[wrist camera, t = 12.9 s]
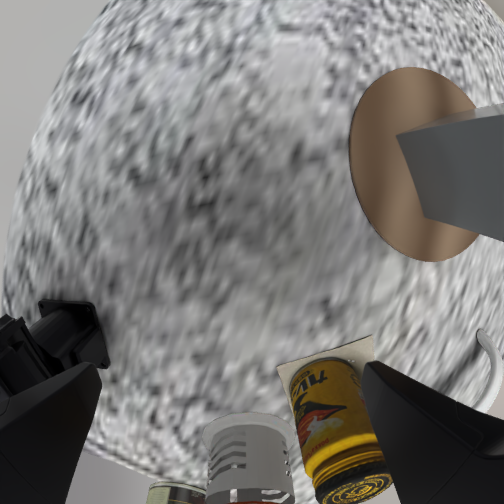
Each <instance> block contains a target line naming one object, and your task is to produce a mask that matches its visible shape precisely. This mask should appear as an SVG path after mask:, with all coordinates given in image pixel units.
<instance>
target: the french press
mask: <svg viewBox="0 0 504 504" xmlns="http://www.w3.org/2000/svg"><path fill="white" fill-rule="evenodd" d="M202 440H203V442H204V444H205V447H206V448H207V449H208V450H209V451H210V455H209V456H210V459H209V465H208V466H209V469H208V475H207V476H208V480H207V490H206V498H205V501H206V503H207V504H294V503H295V496H294V489H293V482H292V476H291V475H290V476H289V474H290V472H291V469H290V462H289V456H287V453H288V450H289V449H290V447H291V446H292V444H293V443H294V441H295V432H294V429H293V428H292V427H291V426H290V425H289V424H288V423H287V421H285V420H282V419H280V418H278V417H275V416H273V415H270V414H262V413H255V412H246V413H235V414H229V415H226V416H224V417H221V418H218V419H215V420H213V421H212V422H211V423H210V424H209V425H208V426H206V427H205V428H204V431H203V435H202ZM285 460H286V461H287V463H286V464H285ZM210 461H212V462H211V463H210ZM231 463H232V464H237V468H231ZM288 463H289V466H288ZM213 465H214V466H213ZM210 470H212V472H211V473H209V471H210ZM286 470H287V471H288V473H287V474H286ZM209 479H210V480H212V482H211V483H210V484H209V483H208V482H209ZM230 489H237V498H236V500H235V502H230ZM261 490H279V491H282V492H281V493H278V494H272V495H267V494H262V493H261ZM287 493H289V494H290V496H289V497H288V498H287V499H286V500H285V501H283V502H282V503H275V502H262V499H266V500H273V499H280V498H282V497H283V496H284V495H286V494H287Z"/></svg>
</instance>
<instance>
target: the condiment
mask: <svg viewBox="0 0 504 504" xmlns="http://www.w3.org/2000/svg"><path fill="white" fill-rule="evenodd" d="M348 360H351V361H352V360H354V361H355V362H351V361H350V362H349V361H348ZM370 361H374V348H373V336H372V335H371V336H369V337H367V338H364V339H362V340H358V341H355V342H354V343H351V344H348V345H345V346H342V347H340V348H336V349H333V350H329V351H326V352H322V353H319V354H316V355H313V356H310V357H306V358H303V359H299V360H296V361H294V362H289V363H286V364H283V365H280V366H278V367H276V368H277V370H278V373H279V376H280V379H281V382H282V385H283V387H284V390H285V393H286V396H287V399H288V402H289V405H290V408H291V411H292V413H293V416H294V419H295V425H296V429H297V434H298V438H299V444H300V448H301V453H302V459H303V464H304V468H305V472H306V474H307V475H308V476H309V477H310V478H312V479H313V480H312V484H313V487H314V488H315V497H316V500H317V501H318V503H319V504H358V503H362V502H364V501H367V500H369V499H371V498H373V497H375V496H377V495H378V494H380V493H382V492H383V491H384V490H386V489H387V488H389V487H390V485H391V484H392V483H393V480H392V477H391V475H390V472H389V469H388V467H387V464H386V461H385V459H384V456H383V454H382V451H381V448H380V446H379V443H378V441H377V438H376V436H375V433H374V431H373V428H372V425H371V422H370V419H369V415H368V412H367V408H366V404H365V400H364V397H363V393H362V389H361V378H362V374H363V370H364V366H365V364H366V363H367V362H370Z"/></svg>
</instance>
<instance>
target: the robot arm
mask: <svg viewBox="0 0 504 504" xmlns="http://www.w3.org/2000/svg"><path fill="white" fill-rule="evenodd" d="M38 306H39V310H40V313H41V316H42V318H41V319H40V320H39V321H38V322H36V323H35V324H34V325H33V326H32V327H30V328H29V329H28V328H27V326H26V325H25V323H26V322H25V321H24V319H23V317H22V316H21V317H20V318H18V319H16V320H15V318H11V317H10V316H9V315H7V314H6V315H4V316H3V317H1V318H0V504H65V502H66V498H67V495H68V491H69V488H70V485H71V482H72V478H73V475H74V472H75V469H76V466H77V463H78V460H79V457H80V454H81V452H82V449H83V446H84V443H85V440H86V438H87V435H88V432H89V430H90V427H91V424H92V421H93V418H94V414H95V411H96V407H97V403H98V400H99V396H100V393H101V389H102V381H101V379H100V376H99V373H98V370H97V368H100V369H108V367H109V366H110V362H109V359H108V356H107V351H106V347H105V344H104V341H103V337H102V333H101V330H100V328H99V325H98V321H97V317H96V313H95V308H94V306H93V305H92V304H91V303H88V302H72V301H58V300H45V299H42V300H40V301H39V302H38ZM87 307H88V308H89V309H90V311H89V310H88V308H87ZM104 363H105V364H104ZM361 389H362V393H363V397H364V400H365V404H366V408H367V412H368V415H369V419H370V422H371V425H372V428H373V431H374V433H375V436H376V438H377V441H378V443H379V446H380V448H381V451H382V454H383V456H384V459H385V461H386V464H387V467H388V469H389V472H390V475H391V477H392V480H393V483H394V486H395V488H396V491H397V494H398V497H399V500H400V503H401V504H504V420H502V419H499V418H496V417H493V416H491V415H488V414H485V413H483V412H480V411H477V410H475V409H473V408H471V407H468V406H466V405H464V404H462V403H460V402H458V401H457V402H456V401H455V400H454V399H452V398H450V397H448V396H446V395H444V394H442V393H440V392H438V391H436V390H434V389H432V388H430V387H428V386H426V385H424V384H422V383H420V382H418V381H416V380H414V379H412V378H410V377H408V376H406V375H404V374H402V373H401V372H399V371H397V370H395V369H393V368H391V367H389V366H387V365H385V364H383V363H382V362H380V361H377V360H376V361H370V362H367V363H366V364H365V366H364V370H363V374H362V378H361Z"/></svg>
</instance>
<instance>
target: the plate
mask: <svg viewBox="0 0 504 504" xmlns="http://www.w3.org/2000/svg"><path fill="white" fill-rule="evenodd" d="M471 109H476V107H475V105H474V104H473V102H472V101H471V100H470V99H469V98H468V96H467V95H466V94H465V93H464V92H463V91H462V90H461V89H460V88H459V87H458V86H457V85H455V84H454V83H453V82H451V81H450V80H449V79H447V78H445V77H444V76H442V75H440V74H438V73H436V72H433V71H431V70H427V69H423V68H416V67H407V68H400V69H396V70H393V71H391V72H389V73H387V74H385V75H383V76H382V77H380V78H379V79H378V80H376V81H375V82H374V83H373V84H372V85H371V86H370V87H369V88H368V89H367V90H366V91H365V93H364V95H363V96H362V98H361V99H360V101H359V103H358V106H357V108H356V110H355V113H354V116H353V120H352V124H351V130H350V137H349V159H350V169H351V174H352V180H353V184H354V187H355V190H356V194H357V197H358V199H359V202H360V204H361V206H362V209H363V211H364V213H365V214H366V216H367V218H368V220H369V222H370V223H371V224H372V226H373V227H374V229H375V230H376V231H377V233H378V234H379V235H380V236H381V237H382V238H383V239H384V240H385V241H386V242H387V243H388V244H389V245H391V246H392V247H393V248H394V249H396V250H398V251H399V252H401V253H403V254H404V255H406V256H409V257H411V258H414V259H416V260H421V261H425V262H437V261H443V260H446V259H449V258H452V257H454V256H456V255H458V254H460V253H461V252H463V251H464V250H465V249H467V248H468V247H469V246H470V245H471V244H472V243H473V242H474V241H475V239H476V238H477V237H478V235H479V234H478V233H475V232H472V231H469V230H466V229H462V228H459V227H456V226H452V225H449V224H446V223H442V222H439V221H435V220H431V219H428V218H425V217H424V214H423V211H422V207H421V204H420V201H419V197H418V194H417V191H416V188H415V185H414V182H413V179H412V177H411V174H410V171H409V168H408V166H407V163H406V160H405V158H404V155H403V153H402V150H401V148H400V145H399V143H398V140H397V138H396V136H395V135H397V134H400V133H402V132H405V131H407V130H410V129H412V128H415V127H417V126H420V125H423V124H425V123H428V122H430V121H433V120H436V119H438V118H441V117H444V116H446V115H449V114H453V113H457V112H462V111H466V110H471Z"/></svg>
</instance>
